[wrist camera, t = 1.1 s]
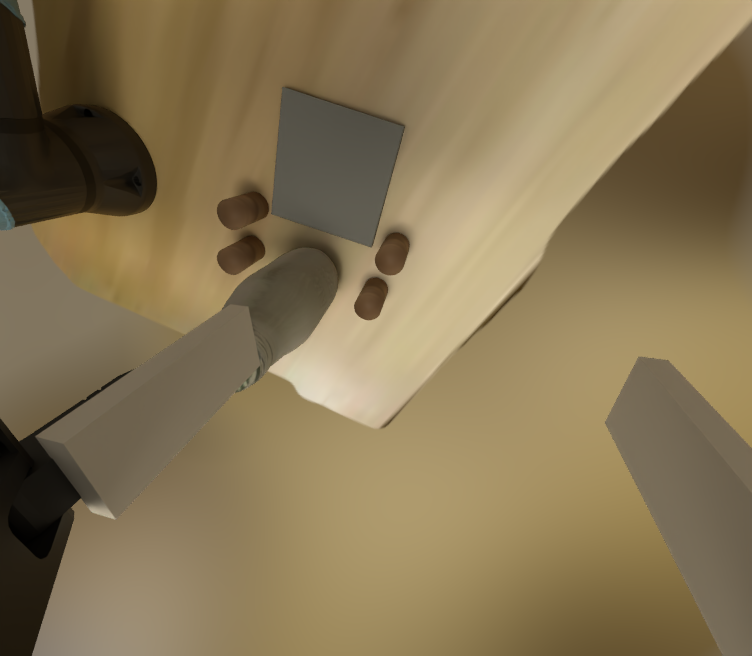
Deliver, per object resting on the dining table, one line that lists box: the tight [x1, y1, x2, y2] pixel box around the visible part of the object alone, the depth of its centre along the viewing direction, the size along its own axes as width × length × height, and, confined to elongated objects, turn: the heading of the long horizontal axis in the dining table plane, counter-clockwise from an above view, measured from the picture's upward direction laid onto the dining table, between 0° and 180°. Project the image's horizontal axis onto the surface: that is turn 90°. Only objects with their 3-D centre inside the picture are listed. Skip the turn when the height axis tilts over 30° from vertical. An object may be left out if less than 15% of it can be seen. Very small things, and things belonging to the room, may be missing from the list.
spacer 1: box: [217, 192, 269, 230], centre depth 46 cm, size 4×4×7 cm
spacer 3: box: [354, 278, 388, 320], centre depth 50 cm, size 4×4×7 cm
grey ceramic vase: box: [222, 247, 338, 393], centre depth 41 cm, size 10×10×28 cm
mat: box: [271, 87, 405, 247], centre depth 45 cm, size 16×16×1 cm
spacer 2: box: [217, 236, 265, 275], centre depth 50 cm, size 4×4×7 cm
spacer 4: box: [375, 233, 409, 275], centre depth 46 cm, size 4×4×7 cm
